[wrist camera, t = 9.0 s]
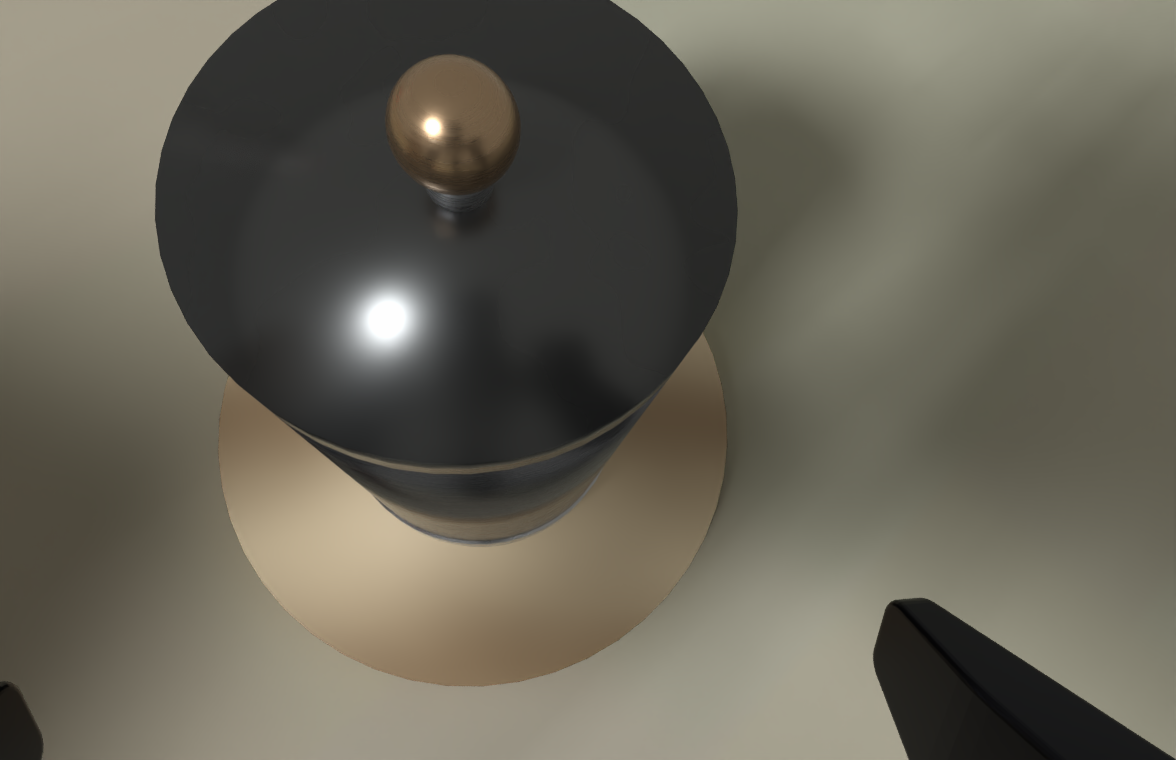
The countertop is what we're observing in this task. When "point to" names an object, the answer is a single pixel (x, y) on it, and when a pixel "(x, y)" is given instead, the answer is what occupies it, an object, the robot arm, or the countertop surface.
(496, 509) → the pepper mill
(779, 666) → the countertop surface
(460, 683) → the smooth tan round disc
